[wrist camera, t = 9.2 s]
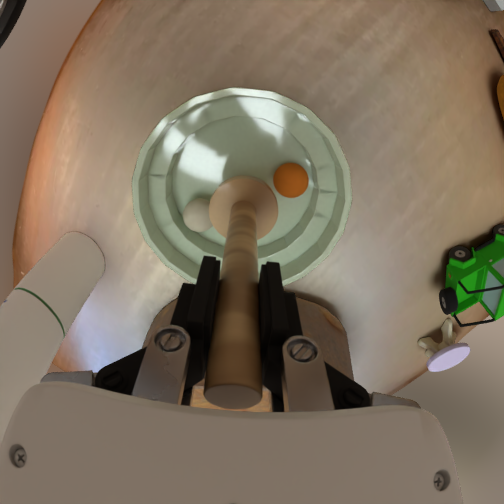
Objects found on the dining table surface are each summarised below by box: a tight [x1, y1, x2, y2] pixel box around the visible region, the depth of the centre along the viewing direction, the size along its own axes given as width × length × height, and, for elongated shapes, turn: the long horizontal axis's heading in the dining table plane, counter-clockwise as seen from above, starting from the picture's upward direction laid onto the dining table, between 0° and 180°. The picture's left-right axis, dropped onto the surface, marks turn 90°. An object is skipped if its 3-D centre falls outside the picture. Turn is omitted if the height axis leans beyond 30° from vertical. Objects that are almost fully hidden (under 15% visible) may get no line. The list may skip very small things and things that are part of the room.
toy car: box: [439, 225, 504, 327], centre depth 25 cm, size 8×17×10 cm, turn 113°
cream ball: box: [183, 198, 213, 232], centre depth 24 cm, size 3×3×3 cm
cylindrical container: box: [0, 232, 105, 447], centre depth 18 cm, size 7×7×25 cm
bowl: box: [132, 87, 352, 286], centre depth 22 cm, size 17×17×5 cm
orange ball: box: [273, 163, 309, 198], centre depth 22 cm, size 3×3×3 cm
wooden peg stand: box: [203, 175, 278, 409], centre depth 14 cm, size 5×5×15 cm
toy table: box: [418, 319, 470, 372], centre depth 35 cm, size 10×9×6 cm
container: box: [142, 297, 354, 412], centre depth 31 cm, size 28×28×15 cm
